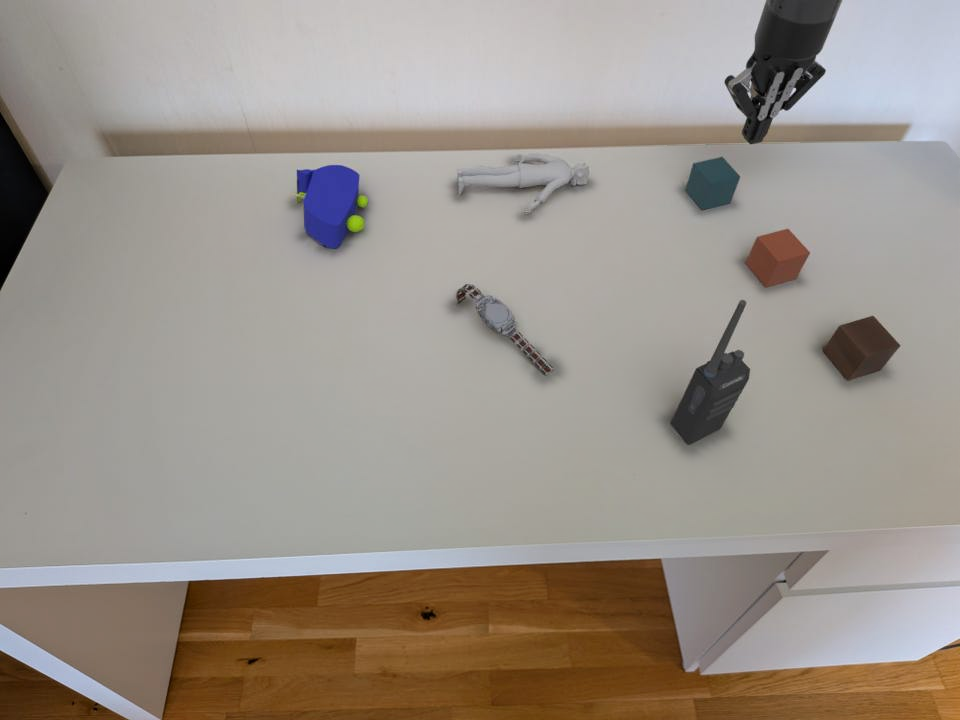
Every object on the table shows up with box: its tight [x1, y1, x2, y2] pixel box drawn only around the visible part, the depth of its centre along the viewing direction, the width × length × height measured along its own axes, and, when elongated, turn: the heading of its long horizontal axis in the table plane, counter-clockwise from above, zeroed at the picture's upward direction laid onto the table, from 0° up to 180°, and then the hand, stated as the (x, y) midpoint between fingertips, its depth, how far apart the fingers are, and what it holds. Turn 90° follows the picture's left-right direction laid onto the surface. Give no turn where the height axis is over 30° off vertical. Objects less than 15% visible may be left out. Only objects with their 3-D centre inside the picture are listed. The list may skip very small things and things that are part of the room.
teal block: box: [684, 156, 741, 211], centre depth 91 cm, size 4×4×4 cm
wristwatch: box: [455, 283, 554, 376], centre depth 78 cm, size 4×14×5 cm, turn 45°
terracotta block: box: [745, 228, 811, 288], centre depth 83 cm, size 4×4×4 cm
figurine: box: [457, 152, 590, 215], centre depth 93 cm, size 12×4×18 cm
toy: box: [291, 164, 369, 249], centre depth 89 cm, size 12×6×10 cm
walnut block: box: [822, 315, 902, 381], centre depth 75 cm, size 4×4×4 cm
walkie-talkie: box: [670, 299, 751, 445], centre depth 63 cm, size 5×3×20 cm
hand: (752, 139), depth 88 cm, fingers closed
